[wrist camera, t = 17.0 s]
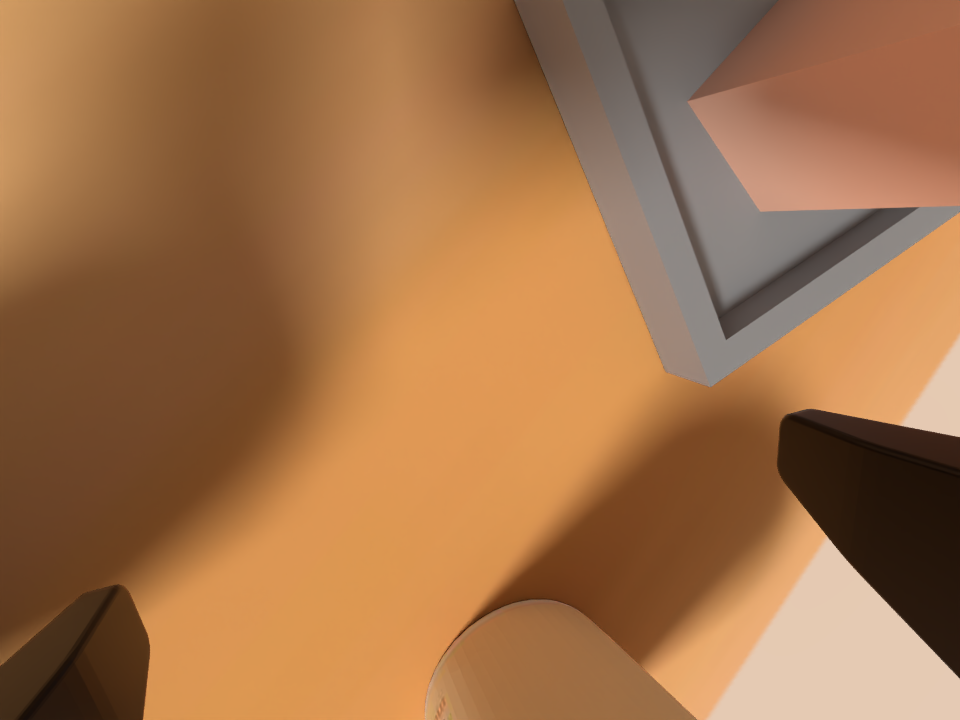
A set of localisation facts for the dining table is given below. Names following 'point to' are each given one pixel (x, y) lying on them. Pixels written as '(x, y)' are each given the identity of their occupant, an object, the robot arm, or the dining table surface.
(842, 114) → the terracotta block
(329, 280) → the dining table surface
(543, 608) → the coffee cup
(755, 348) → the grey square tray
